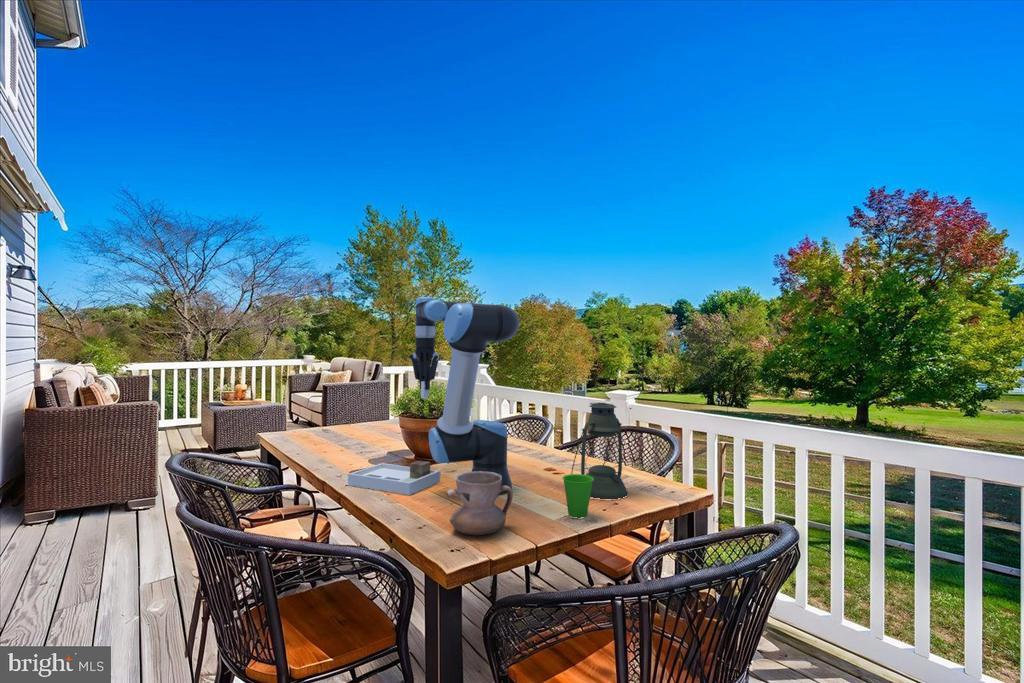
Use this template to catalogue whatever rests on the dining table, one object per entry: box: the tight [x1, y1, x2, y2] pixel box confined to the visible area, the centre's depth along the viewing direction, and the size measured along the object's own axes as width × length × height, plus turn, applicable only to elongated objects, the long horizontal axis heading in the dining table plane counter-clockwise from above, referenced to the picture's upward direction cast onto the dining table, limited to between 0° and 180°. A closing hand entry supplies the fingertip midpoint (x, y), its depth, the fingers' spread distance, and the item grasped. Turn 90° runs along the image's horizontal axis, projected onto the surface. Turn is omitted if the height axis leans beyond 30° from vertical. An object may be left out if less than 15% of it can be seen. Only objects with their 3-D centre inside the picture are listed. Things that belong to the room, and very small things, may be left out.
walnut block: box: [409, 460, 431, 479], centre depth 176 cm, size 5×5×5 cm
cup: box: [562, 473, 594, 518], centre depth 145 cm, size 9×9×11 cm
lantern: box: [570, 402, 629, 499], centre depth 168 cm, size 21×18×30 cm
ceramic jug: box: [446, 471, 514, 536], centre depth 133 cm, size 18×14×14 cm
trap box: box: [347, 462, 441, 496], centre depth 176 cm, size 26×18×4 cm
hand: (424, 398), depth 194 cm, fingers closed
